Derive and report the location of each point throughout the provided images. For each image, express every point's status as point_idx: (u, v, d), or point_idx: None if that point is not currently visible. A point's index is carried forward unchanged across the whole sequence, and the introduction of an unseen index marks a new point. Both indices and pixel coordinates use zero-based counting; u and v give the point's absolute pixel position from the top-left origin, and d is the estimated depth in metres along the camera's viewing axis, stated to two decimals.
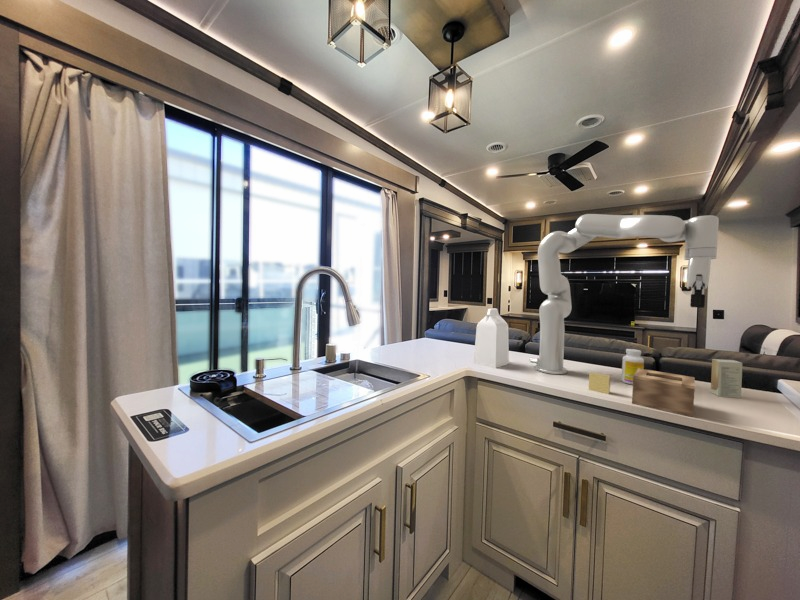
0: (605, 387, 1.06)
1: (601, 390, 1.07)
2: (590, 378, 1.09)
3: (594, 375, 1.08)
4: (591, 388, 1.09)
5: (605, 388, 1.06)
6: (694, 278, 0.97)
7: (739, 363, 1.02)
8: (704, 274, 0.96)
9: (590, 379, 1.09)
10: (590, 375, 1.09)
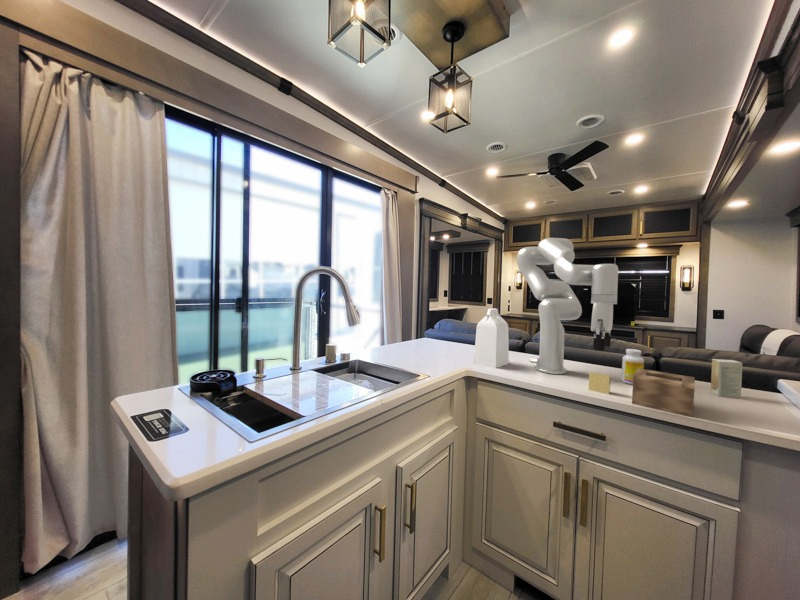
0: (605, 387, 1.06)
1: (601, 391, 1.07)
2: (590, 378, 1.09)
3: (594, 375, 1.08)
4: (591, 388, 1.09)
5: (605, 388, 1.06)
6: (596, 322, 1.04)
7: (739, 363, 1.02)
8: (604, 319, 1.02)
9: (590, 379, 1.09)
10: (590, 375, 1.09)
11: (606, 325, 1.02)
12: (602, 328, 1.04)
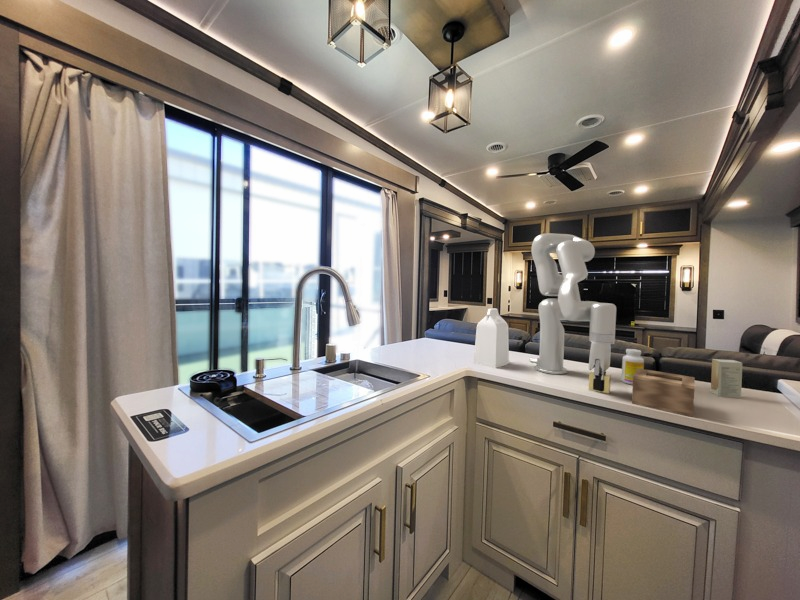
0: (605, 387, 1.06)
1: None
2: (590, 378, 1.09)
3: None
4: (591, 388, 1.09)
5: (605, 388, 1.06)
6: (593, 362, 1.05)
7: (739, 363, 1.02)
8: (602, 359, 1.03)
9: (590, 379, 1.09)
10: (590, 375, 1.09)
11: (603, 365, 1.03)
12: None
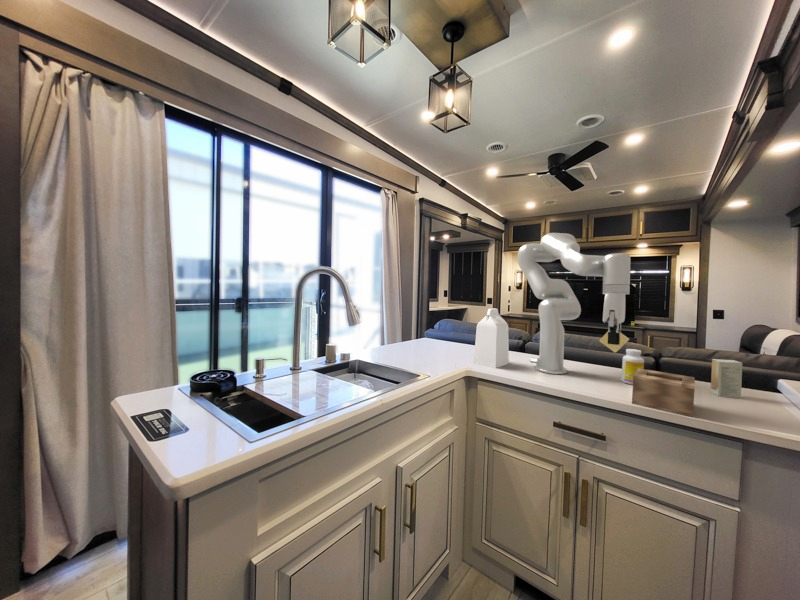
0: (616, 346, 1.03)
1: (610, 347, 1.04)
2: None
3: None
4: (602, 340, 1.06)
5: (616, 347, 1.03)
6: (608, 313, 1.01)
7: (739, 363, 1.02)
8: (616, 309, 1.00)
9: (607, 333, 1.05)
10: None
11: (618, 316, 0.99)
12: None
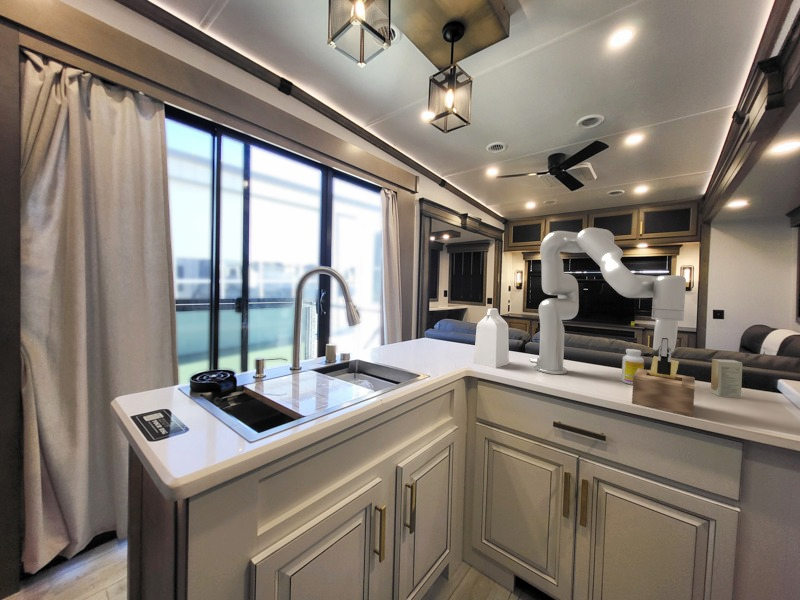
0: (658, 374, 0.96)
1: (653, 369, 0.97)
2: None
3: (675, 367, 0.93)
4: (655, 360, 0.96)
5: (657, 374, 0.96)
6: (660, 341, 0.92)
7: (739, 363, 1.02)
8: (670, 338, 0.91)
9: None
10: (675, 363, 0.93)
11: (672, 345, 0.91)
12: None
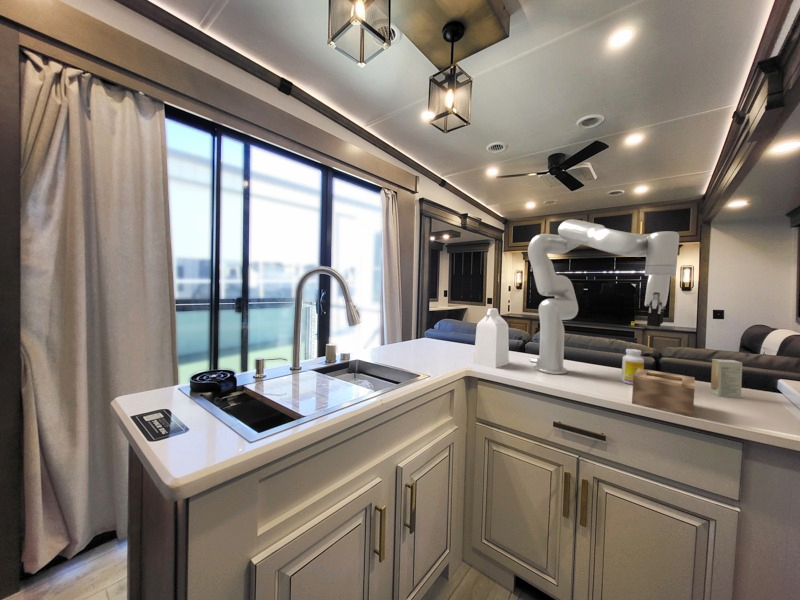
0: None
1: None
2: None
3: None
4: None
5: None
6: (651, 296, 0.95)
7: (739, 363, 1.02)
8: (661, 292, 0.93)
9: None
10: None
11: (663, 299, 0.93)
12: (658, 302, 0.95)
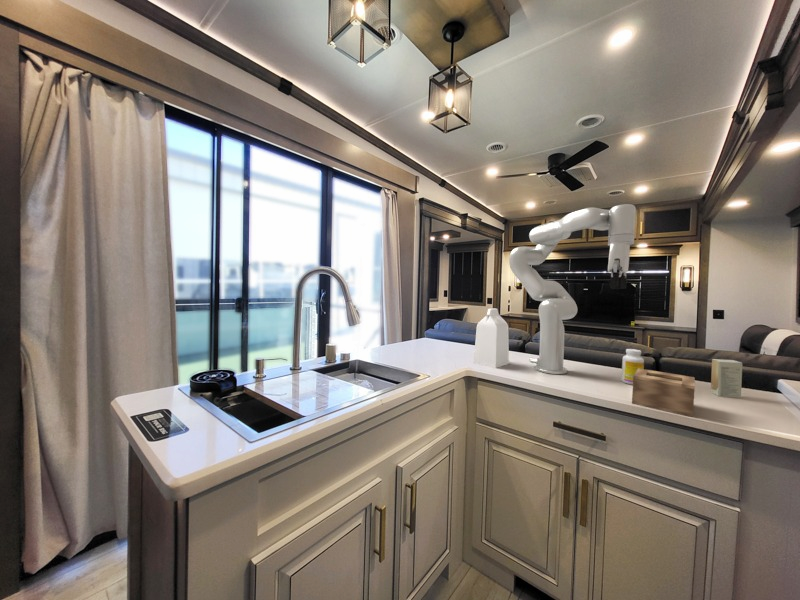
0: None
1: None
2: None
3: None
4: None
5: None
6: (613, 262, 1.06)
7: (739, 363, 1.02)
8: (621, 258, 1.04)
9: None
10: None
11: (623, 264, 1.04)
12: (619, 268, 1.06)
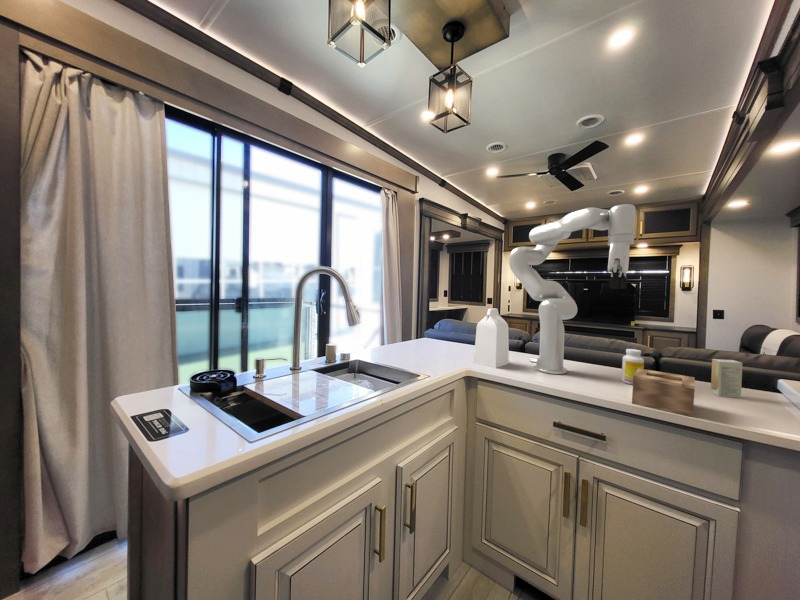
0: None
1: None
2: None
3: None
4: None
5: None
6: (613, 262, 1.06)
7: (739, 363, 1.02)
8: (621, 257, 1.04)
9: None
10: None
11: (623, 263, 1.04)
12: (619, 268, 1.06)
